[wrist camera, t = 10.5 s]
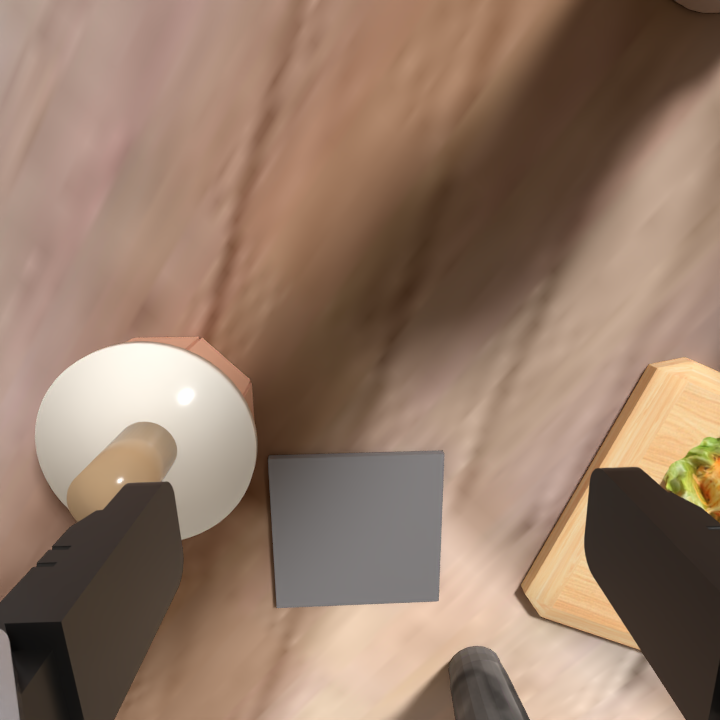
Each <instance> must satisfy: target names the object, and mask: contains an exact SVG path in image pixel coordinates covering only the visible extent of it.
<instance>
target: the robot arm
mask: <svg viewBox="0 0 720 720" xmlns="http://www.w3.org/2000/svg"><path fill="white" fill-rule="evenodd" d="M675 1H676V2H677V3H679V4H681V5H683V6H684V7H686V8H688V9H690V10H694V11H698V12H702V13H720V0H675ZM584 550H585V556H586V561H587V564H588V567H589V570H590V572H591V574H592V576H593V577H594V579H595V581H596V582H597V584H598V585H599V587H600V588H601V590H602V591H603V593H604V594H605V596H606V597H607V599H608V601H609V602H610V604H611V605H612V607H613V608H614V610H615V611H616V613H617V614H618V616H619V617H620V619H621V621H622V622H623V624H624V625H625V627H626V628H627V630H628V631H629V633H630V634H631V636H632V637H633V639H634V641H635V642H636V644H637V645H638V647H639V648H640V650H641V651H642V653H643V654H644V656H645V658H646V659H647V661H648V662H649V664H650V665H651V667H652V668H653V670H654V671H655V673H656V674H657V676H658V678H659V679H660V681H661V682H662V684H663V685H664V687H665V688H666V690H667V691H668V693H669V694H670V696H671V698H672V699H673V701H674V702H675V704H676V705H677V707H678V708H679V710H680V711H681V713H682V714H683V716H684V718H685V719H686V720H720V523H719V522H718V521H717V520H716V519H714V518H713V517H712V516H711V515H710V514H708V513H707V512H706V511H705V510H704V509H703V508H701V507H700V506H698V505H696V504H694V503H692V502H690V501H688V500H686V499H684V498H682V497H680V496H678V495H676V494H674V493H672V492H667V491H666V490H665V489H663V488H662V487H661V486H660V485H659V484H658V483H657V482H656V481H655V480H653V479H652V478H651V477H650V476H649V475H648V474H647V473H646V472H644V471H643V470H642V469H641V468H639V467H615V468H596V469H595V470H593V472H592V474H591V477H590V483H589V493H588V504H587V514H586V525H585V535H584ZM182 572H183V547H182V541H181V534H180V527H179V521H178V514H177V507H176V500H175V494H174V490H173V487H172V485H171V484H170V483H169V482H167V481H166V482H136V483H127V484H125V485H124V486H123V487H122V488H121V490H120V491H119V492H118V493H117V494H116V495H115V496H114V498H113V499H112V500H111V501H110V502H109V503H108V505H107V506H106V507H105V508H104V509H103V510H96V511H94V512H93V513H91V514H90V515H88V516H87V517H85V518H83V519H82V520H80V521H79V522H77V523H76V524H74V525H72V526H71V527H70V528H69V529H68V530H67V531H66V532H65V533H64V534H63V535H62V536H61V537H60V538H59V540H58V541H57V542H56V543H55V544H54V545H53V546H52V550H48V551H47V552H46V554H45V555H44V556H43V557H42V558H41V559H40V560H39V561H38V562H37V566H36V567H33V568H32V569H31V570H30V571H29V572H28V573H27V574H26V575H25V576H24V577H23V578H22V579H21V581H20V582H19V583H18V584H17V585H16V586H15V587H14V588H13V589H12V590H11V591H10V592H9V593H8V595H7V596H6V597H5V598H4V599H3V600H2V601H1V602H0V720H114V719H115V717H116V715H117V713H118V711H119V709H120V707H121V705H122V703H123V700H124V698H125V696H126V694H127V692H128V690H129V688H130V686H131V684H132V682H133V680H134V678H135V676H136V674H137V672H138V670H139V668H140V665H141V663H142V661H143V659H144V657H145V655H146V653H147V651H148V649H149V647H150V645H151V643H152V641H153V639H154V637H155V635H156V632H157V630H158V628H159V626H160V624H161V622H162V620H163V618H164V616H165V614H166V612H167V610H168V608H169V606H170V604H171V602H172V600H173V597H174V595H175V593H176V591H177V589H178V587H179V584H180V581H181V577H182Z"/></svg>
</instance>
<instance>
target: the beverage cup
mask: <svg viewBox="0 0 720 720" xmlns="http://www.w3.org/2000/svg"><path fill="white" fill-rule="evenodd" d="M448 670H449V675H450V688H451V694H452V701H453V707H454V714H455V720H530V719H529V717H528V715H527V713H526V711H525V709H524V707H523V705H522V703H521V701H520V699H519V697H518V695H517V693H516V691H515V689H514V686H513V684H512V682H511V680H510V678H509V676H508V674H507V673H506V671H505V669H504V668H503V666H502V664H501V663H500V660H499V658H498V656H497V655H496V653H494V652H493V651H492V650H491V649H488V648H485V647H480V646H473V647H468V648H465V649H463V650H461V651H459V652H458V653H457V654H456V655H455V656H454V657H453V658H452V660H451V662H450V664H449V669H448Z"/></svg>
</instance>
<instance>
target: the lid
mask: <svg viewBox="0 0 720 720" xmlns="http://www.w3.org/2000/svg"><path fill="white" fill-rule="evenodd" d="M35 444H36V452H37V456H38V460H39V464H40V467H41V469H42V472H43V474H44V476H45V478H46V480H47V482H48V484H49V485H50V487H51V489H52V490H53V492H54V493H55V494H56V496H57V497H58V498H59V499H60V501H61V502H62V503H63V504H64V505H65V506H66V507H67V508H68V509H69V511H70V513H71V515H72V516H73V517H74V519H75V520H76V521H77V522H79V521H80V520H82V519H83V518H85V517H87V516H88V515H90V514H91V513H93V512H94V511H96V510H103V509H104V508H105V507H106V506H107V505H108V503H109V502H110V501H111V500H112V499H113V498H114V496H115V495H116V494H117V493H118V492H119V491H120V490H121V488H122V487H123V486H124V485H125V484H127V483H136V482H166V481H167V482H169V483H170V484H171V485H172V487H173V490H174V494H175V500H176V507H177V514H178V521H179V527H180V534H181V540H182V539H186V538H189V537H192V536H195V535H198V534H200V533H202V532H204V531H206V530H208V529H210V528H212V527H213V526H215V525H216V524H218V523H219V522H221V521H222V520H223V519H224V518H225V517H226V516H228V515H229V514H230V513H231V512H232V510H233V509H234V508H235V507H236V506H237V505H238V503H239V502H240V500H241V499H242V497H243V496H244V494H245V492H246V490H247V488H248V486H249V484H250V481H251V477H252V474H253V471H254V468H255V464H256V458H257V444H258V440H257V432H256V426H255V422H254V419H253V415H252V413H251V411H250V408H249V406H248V404H247V402H246V400H245V398H244V397H243V395H242V393H241V392H240V390H239V389H238V388H237V387H236V385H235V384H234V383H233V382H232V380H231V379H230V378H229V377H228V376H227V375H226V374H225V373H224V372H223V371H222V370H220V369H219V368H218V367H216V366H215V365H214V364H212V363H211V362H210V361H208V360H206V359H205V358H203V357H201V356H199V355H198V354H196V353H193V352H191V351H189V350H186V349H184V348H181V347H177V346H174V345H171V344H166V343H160V342H152V341H133V342H124V343H119V344H114V345H110V346H108V347H105V348H102V349H99V350H97V351H95V352H93V353H91V354H89V355H87V356H85V357H84V358H82V359H80V360H78V361H77V362H75V363H74V364H73V365H71V366H70V367H68V368H67V369H66V370H65V371H64V372H63V373H62V374H61V375H60V376H59V377H58V378H57V379H56V380H55V381H54V383H53V384H52V385H51V387H50V388H49V389H48V391H47V393H46V395H45V397H44V398H43V400H42V403H41V406H40V408H39V411H38V415H37V420H36V426H35Z"/></svg>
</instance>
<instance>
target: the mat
mask: <svg viewBox="0 0 720 720" xmlns="http://www.w3.org/2000/svg"><path fill="white" fill-rule="evenodd" d="M268 469H269V486H270V503H271V520H272V536H273V553H274V570H275V587H276V604H277V608H289V607H313V606H337V605H361V604H385V603H409V602H433V601H438V600H439V576H440V551H441V526H442V501H443V476H444V452H443V451H409V452H374V453H338V454H303V455H269V457H268Z"/></svg>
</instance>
